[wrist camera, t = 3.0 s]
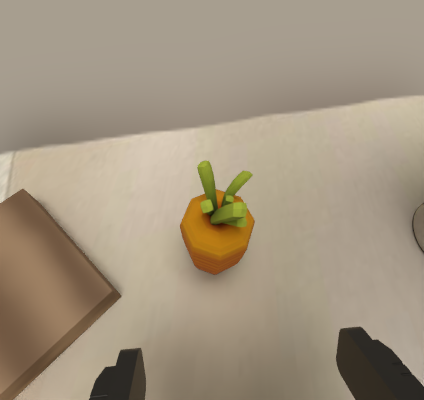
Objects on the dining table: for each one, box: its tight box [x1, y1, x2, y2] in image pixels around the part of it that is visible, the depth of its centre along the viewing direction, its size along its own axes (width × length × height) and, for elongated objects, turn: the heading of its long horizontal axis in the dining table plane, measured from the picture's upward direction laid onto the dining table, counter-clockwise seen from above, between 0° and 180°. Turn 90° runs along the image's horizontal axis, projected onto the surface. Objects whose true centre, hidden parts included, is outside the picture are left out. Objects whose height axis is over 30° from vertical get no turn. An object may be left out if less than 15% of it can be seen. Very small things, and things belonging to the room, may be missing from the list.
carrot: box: [180, 161, 255, 275], centre depth 20 cm, size 5×5×15 cm
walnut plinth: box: [0, 189, 121, 400], centre depth 24 cm, size 14×14×3 cm
